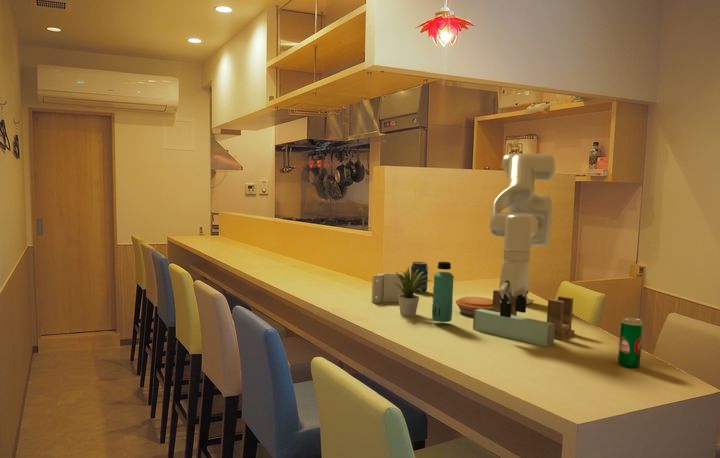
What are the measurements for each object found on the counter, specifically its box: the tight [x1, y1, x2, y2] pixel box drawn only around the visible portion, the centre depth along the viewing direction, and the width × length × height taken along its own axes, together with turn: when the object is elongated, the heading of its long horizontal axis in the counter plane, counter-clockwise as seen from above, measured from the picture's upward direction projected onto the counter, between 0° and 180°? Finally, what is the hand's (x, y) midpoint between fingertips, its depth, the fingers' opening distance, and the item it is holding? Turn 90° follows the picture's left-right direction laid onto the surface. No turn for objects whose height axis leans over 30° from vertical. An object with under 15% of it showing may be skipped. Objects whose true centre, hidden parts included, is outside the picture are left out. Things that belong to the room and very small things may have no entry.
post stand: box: [492, 289, 576, 341], centre depth 173 cm, size 10×24×11 cm, turn 49°
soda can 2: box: [617, 316, 644, 369], centre depth 140 cm, size 5×5×12 cm
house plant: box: [392, 266, 432, 317], centre depth 184 cm, size 14×14×16 cm
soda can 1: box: [410, 261, 429, 294], centre depth 225 cm, size 7×7×12 cm
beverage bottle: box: [431, 261, 454, 323], centre depth 174 cm, size 6×7×20 cm
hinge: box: [371, 273, 405, 304], centre depth 206 cm, size 14×5×10 cm, turn 106°
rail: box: [472, 309, 555, 348], centre depth 164 cm, size 4×24×6 cm, turn 49°
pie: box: [455, 296, 493, 317], centre depth 192 cm, size 16×16×5 cm
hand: (513, 314), depth 163 cm, fingers open, 9 cm apart
